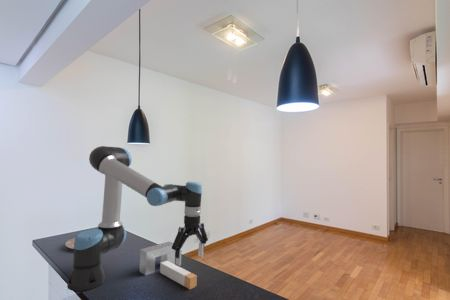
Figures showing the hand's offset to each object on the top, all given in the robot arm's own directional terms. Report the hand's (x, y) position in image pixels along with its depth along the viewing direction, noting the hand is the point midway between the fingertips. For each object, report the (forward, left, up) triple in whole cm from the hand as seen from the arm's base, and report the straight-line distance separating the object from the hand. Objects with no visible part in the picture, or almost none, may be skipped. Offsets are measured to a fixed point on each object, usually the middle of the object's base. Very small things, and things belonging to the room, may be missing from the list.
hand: (189, 260), depth 115 cm
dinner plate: (+51, +73, -12) cm, 90 cm away
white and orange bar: (+6, +7, -12) cm, 15 cm away
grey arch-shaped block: (+18, +19, -12) cm, 29 cm away
